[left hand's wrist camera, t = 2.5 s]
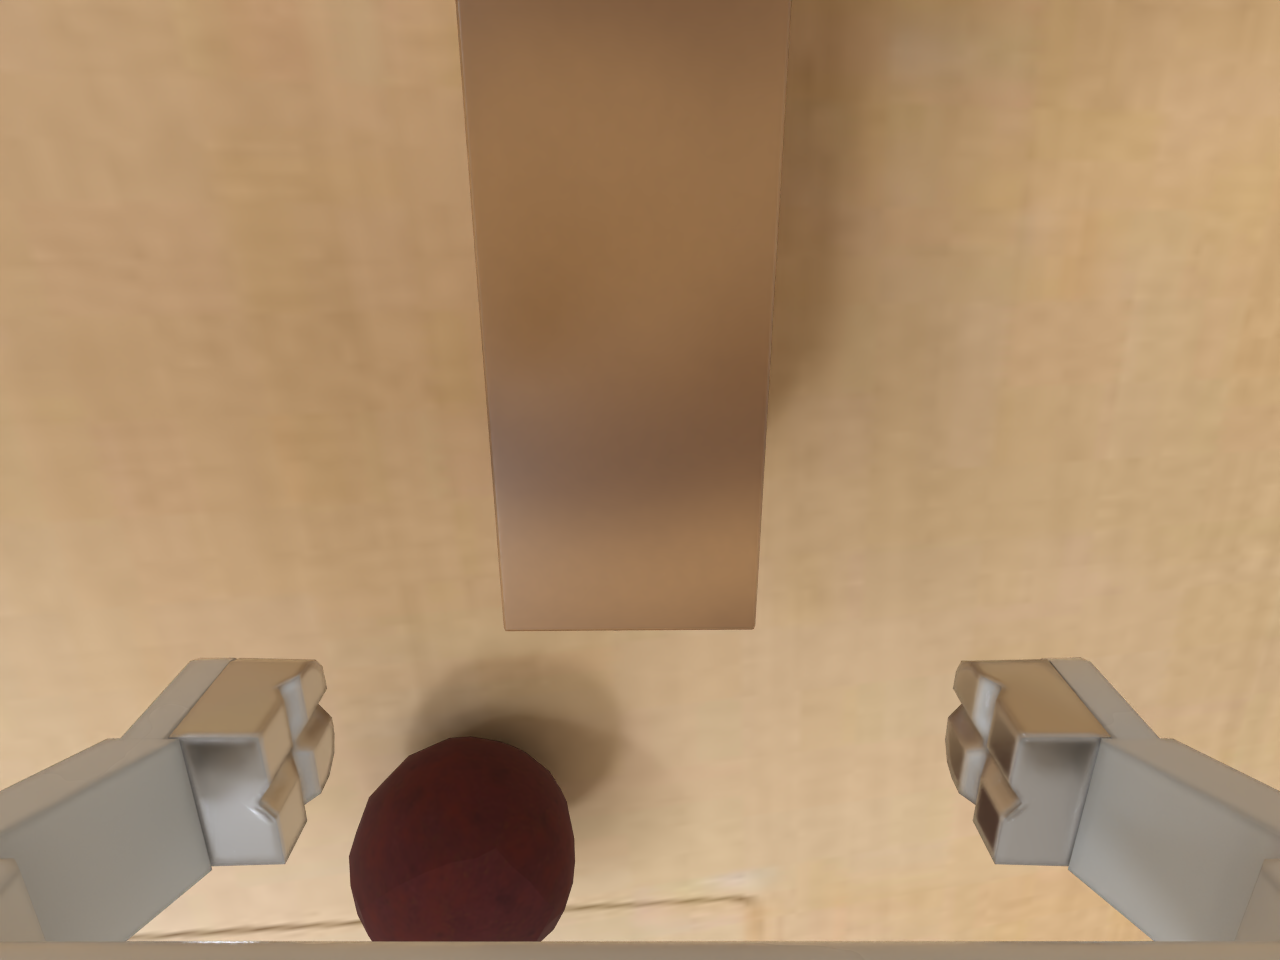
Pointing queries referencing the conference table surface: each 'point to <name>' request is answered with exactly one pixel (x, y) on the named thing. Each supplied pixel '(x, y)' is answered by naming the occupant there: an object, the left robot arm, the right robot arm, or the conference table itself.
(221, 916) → the conference table surface
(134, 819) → the left robot arm
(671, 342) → the bar
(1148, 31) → the conference table surface
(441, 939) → the dark maroon ball
